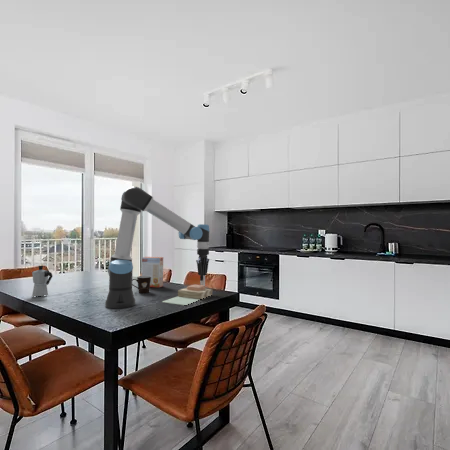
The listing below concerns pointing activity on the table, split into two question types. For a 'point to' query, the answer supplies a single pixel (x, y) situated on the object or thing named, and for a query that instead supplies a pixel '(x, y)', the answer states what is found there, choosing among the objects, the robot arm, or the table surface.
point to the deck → (195, 293)
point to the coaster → (196, 287)
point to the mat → (180, 300)
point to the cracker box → (153, 270)
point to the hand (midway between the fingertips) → (202, 285)
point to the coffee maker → (41, 281)
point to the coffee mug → (143, 283)
